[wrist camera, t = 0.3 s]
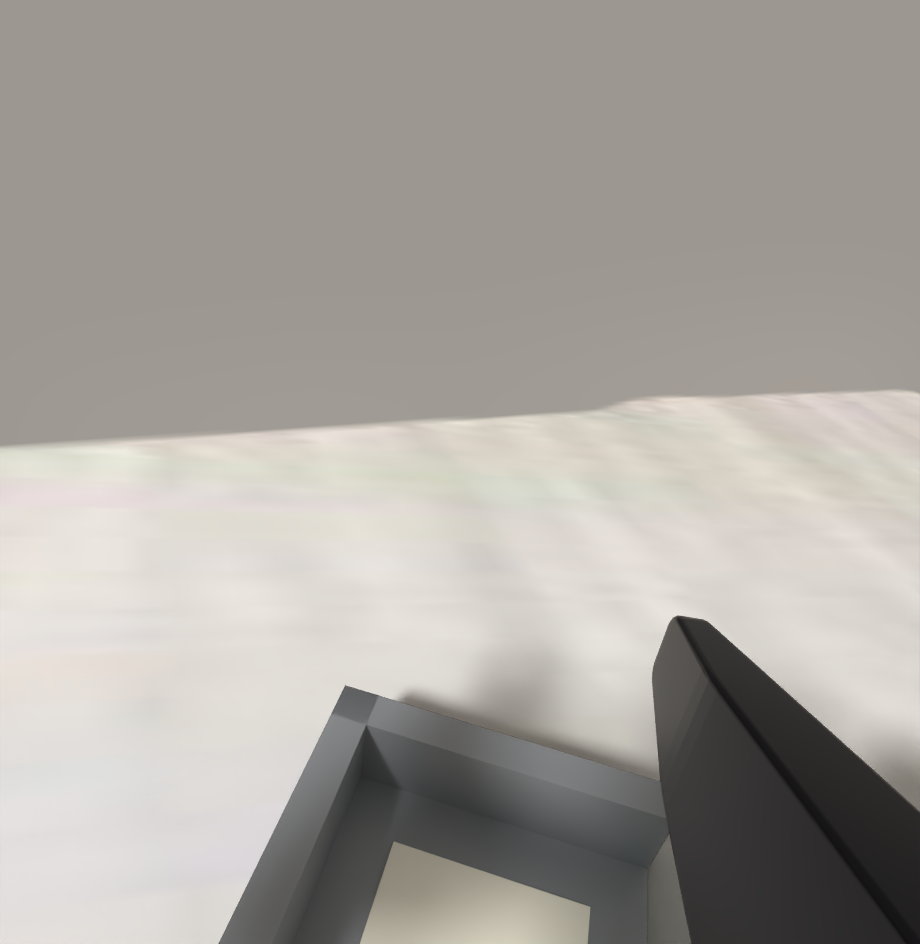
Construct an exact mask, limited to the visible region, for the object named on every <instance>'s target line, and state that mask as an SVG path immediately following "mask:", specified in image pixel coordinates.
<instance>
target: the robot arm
mask: <svg viewBox="0 0 920 944" xmlns="http://www.w3.org/2000/svg"><path fill="white" fill-rule="evenodd" d="M652 686H653V698H654V711H655V723H656V735H657V747H658V759H659V772H660V781H661V791H662V797H663V802H664V808H665V814H666V819H667V824H668V829H669V834H670V839H671V844H672V849H673V854H674V859H675V864H676V869H677V874H678V879H679V884H680V889H681V894H682V899H683V904H684V909H685V914H686V919H687V924H688V930H689V935H690V940H691V944H920V811H919V810H917V809H916V808H915V807H914V806H913V805H912V804H911V803H910V802H909V801H907V800H906V799H905V798H904V797H903V796H902V795H901V794H900V793H898V792H897V791H896V790H895V789H894V788H893V787H892V786H891V785H890V784H888V783H887V782H886V781H885V780H884V779H883V778H882V777H881V776H880V775H878V774H877V773H876V772H875V771H874V770H873V769H872V768H871V767H869V766H868V765H867V764H866V763H865V762H864V761H863V760H862V759H861V758H859V757H858V756H857V755H856V754H855V753H854V752H853V751H852V750H851V749H849V748H848V747H847V746H846V745H845V744H844V743H843V742H842V741H841V740H839V739H838V738H837V737H836V736H835V735H834V734H833V733H832V732H830V731H829V730H828V729H827V728H826V727H825V726H824V725H823V724H822V723H820V722H819V721H818V720H817V719H816V718H815V717H814V716H813V715H812V714H810V713H809V712H808V711H807V710H806V709H805V708H804V707H803V706H801V705H800V704H799V703H798V702H797V701H796V700H795V699H794V698H793V697H791V696H790V695H789V694H788V693H787V692H786V691H785V690H784V689H783V688H781V687H780V686H779V685H778V684H777V683H776V682H775V681H774V680H772V679H771V678H770V677H769V676H768V675H767V674H766V673H765V672H764V671H762V670H761V669H760V668H759V667H758V666H757V665H756V664H755V663H754V662H752V661H751V660H750V659H749V658H748V657H747V656H746V655H745V654H743V653H742V652H741V651H740V650H739V649H738V648H737V647H736V646H735V645H733V644H732V643H731V642H730V641H729V640H728V639H727V638H726V637H725V636H723V635H722V634H721V633H720V632H719V631H718V630H717V629H716V628H714V627H713V626H712V625H711V624H710V623H709V622H707V621H705V620H703V619H697V618H691V617H685V616H676V617H674V618H673V619H672V620H671V621H670V623H669V625H668V627H667V630H666V633H665V635H664V638H663V641H662V643H661V646H660V649H659V652H658V654H657V657H656V660H655V662H654V666H653V672H652Z"/></svg>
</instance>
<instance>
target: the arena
mask: <svg viewBox="0 0 920 944" xmlns="http://www.w3.org/2000/svg"><path fill="white" fill-rule="evenodd" d="M668 834H669V829H668V824H667V819H666V814H665V808H664V802H663V797H662V791H661V782H660V781H656V780H653V779H650V778H647V777H643V776H640V775H637V774H634V773H630V772H627V771H624V770H620V769H617V768H614V767H611V766H607V765H604V764H601V763H598V762H594V761H591V760H588V759H584V758H581V757H578V756H575V755H571V754H568V753H565V752H562V751H558V750H555V749H552V748H548V747H545V746H542V745H539V744H535V743H532V742H529V741H526V740H522V739H519V738H516V737H512V736H509V735H506V734H503V733H499V732H496V731H493V730H490V729H486V728H483V727H480V726H476V725H473V724H470V723H467V722H463V721H460V720H457V719H454V718H450V717H447V716H444V715H440V714H437V713H434V712H431V711H427V710H424V709H421V708H418V707H414V706H411V705H408V704H404V703H401V702H398V701H395V700H391V699H388V698H385V697H382V696H378V695H375V694H372V693H369V692H365V691H362V690H359V689H355V688H352V687H349V686H346V685H345V687H344V689H343V691H342V693H341V695H340V697H339V699H338V701H337V704H336V706H335V708H334V710H333V712H332V714H331V716H330V718H329V720H328V722H327V724H326V726H325V728H324V730H323V732H322V734H321V736H320V738H319V740H318V742H317V744H316V746H315V748H314V750H313V752H312V754H311V756H310V758H309V761H308V763H307V765H306V767H305V769H304V771H303V773H302V775H301V777H300V779H299V781H298V783H297V785H296V787H295V789H294V791H293V793H292V795H291V797H290V799H289V801H288V803H287V805H286V807H285V809H284V811H283V813H282V815H281V818H280V820H279V822H278V824H277V826H276V828H275V830H274V832H273V834H272V836H271V838H270V840H269V842H268V844H267V846H266V848H265V850H264V852H263V854H262V856H261V858H260V860H259V862H258V864H257V866H256V868H255V870H254V873H253V875H252V877H251V879H250V881H249V883H248V885H247V887H246V889H245V891H244V893H243V895H242V897H241V899H240V901H239V903H238V905H237V907H236V909H235V911H234V913H233V915H232V917H231V919H230V921H229V923H228V925H227V927H226V930H225V932H224V934H223V936H222V938H221V940H220V942H219V944H647V923H648V868H649V866H650V865H651V863H652V861H653V860H654V858H655V856H656V855H657V853H658V851H659V849H660V848H661V846H662V844H663V843H664V841H665V839H666V838H667V836H668Z"/></svg>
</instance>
